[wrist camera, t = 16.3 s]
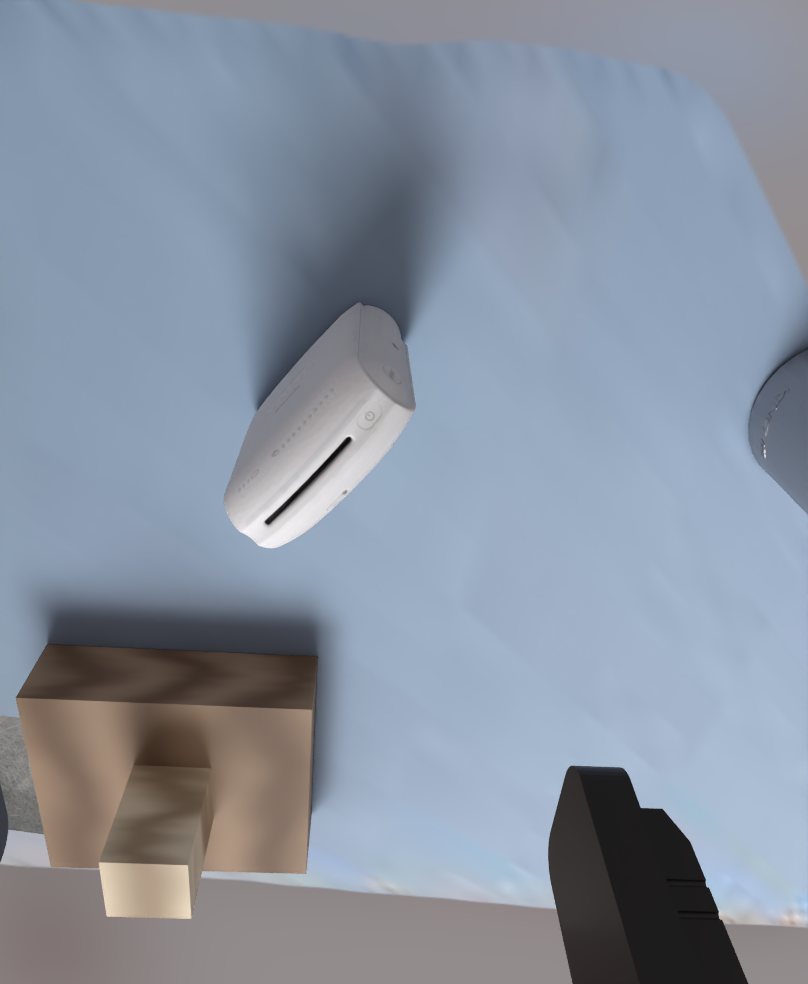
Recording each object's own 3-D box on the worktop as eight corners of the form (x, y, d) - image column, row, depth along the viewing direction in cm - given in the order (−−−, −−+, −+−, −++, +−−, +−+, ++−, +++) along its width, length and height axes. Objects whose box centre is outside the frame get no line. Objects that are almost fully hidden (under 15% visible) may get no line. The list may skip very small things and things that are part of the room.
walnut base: (317, 656, 52) (312, 709, 48) (311, 815, 60) (306, 873, 55) (46, 644, 51) (15, 697, 47) (75, 807, 58) (51, 866, 54)
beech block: (211, 768, 50) (188, 865, 44) (213, 819, 52) (191, 918, 46) (133, 765, 50) (98, 862, 43) (138, 817, 52) (106, 916, 46)
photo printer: (360, 284, 40) (354, 360, 29) (419, 338, 42) (434, 429, 31) (241, 418, 44) (196, 530, 33) (300, 463, 45) (275, 585, 34)
